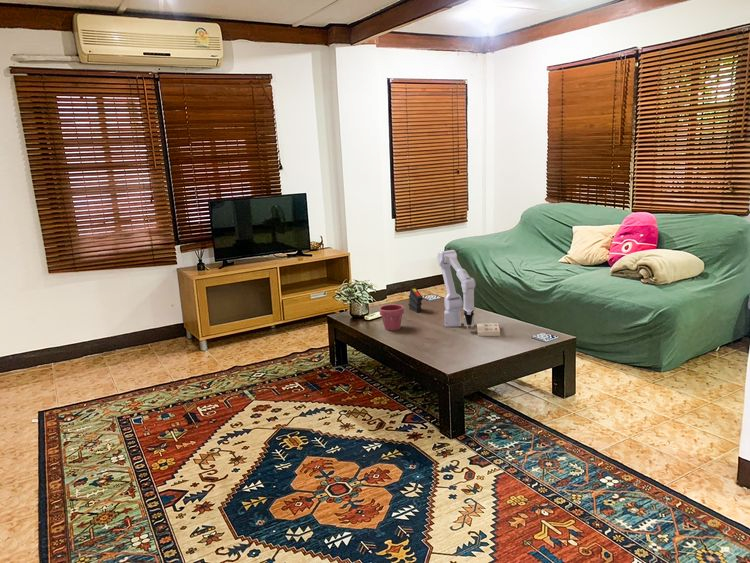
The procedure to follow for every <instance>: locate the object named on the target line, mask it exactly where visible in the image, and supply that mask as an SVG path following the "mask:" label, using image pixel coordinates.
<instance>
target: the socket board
mask: <svg viewBox="0 0 750 563" xmlns="http://www.w3.org/2000/svg"><path fill="white" fill-rule="evenodd" d="M500 330H501V329H500V325H499V323H498V322H485V323H483V322H482V323H481V322H480V323H478V322H477V323H476V331H477V336H478V337H500V336H501V331H500Z"/></svg>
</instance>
